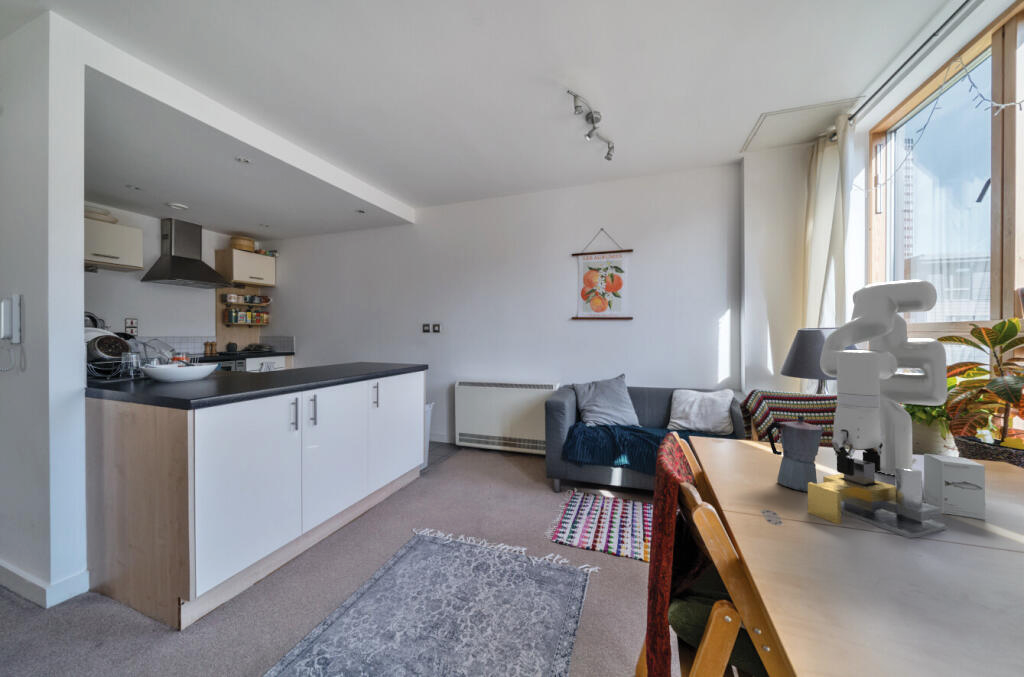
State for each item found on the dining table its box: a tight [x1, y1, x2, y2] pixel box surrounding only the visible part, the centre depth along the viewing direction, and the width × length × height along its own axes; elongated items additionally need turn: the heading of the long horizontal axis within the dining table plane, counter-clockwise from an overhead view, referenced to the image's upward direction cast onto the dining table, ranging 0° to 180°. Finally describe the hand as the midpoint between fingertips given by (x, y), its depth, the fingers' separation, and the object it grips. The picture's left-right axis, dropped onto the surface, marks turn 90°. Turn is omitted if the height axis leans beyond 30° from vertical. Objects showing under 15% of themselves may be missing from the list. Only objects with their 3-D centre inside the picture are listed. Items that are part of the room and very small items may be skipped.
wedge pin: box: [844, 457, 876, 512], centre depth 87 cm, size 4×4×11 cm
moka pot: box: [765, 415, 826, 493], centre depth 101 cm, size 10×15×20 cm, turn 89°
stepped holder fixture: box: [807, 467, 947, 539], centre depth 83 cm, size 21×16×12 cm
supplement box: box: [923, 453, 986, 521], centre depth 87 cm, size 7×7×13 cm
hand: (858, 471), depth 87 cm, fingers open, 9 cm apart
